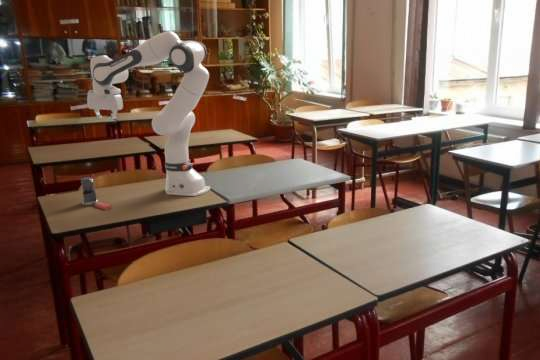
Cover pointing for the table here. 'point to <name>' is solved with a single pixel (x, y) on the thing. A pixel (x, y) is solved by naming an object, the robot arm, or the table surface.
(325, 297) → the table surface
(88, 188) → the socket
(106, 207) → the ratchet
